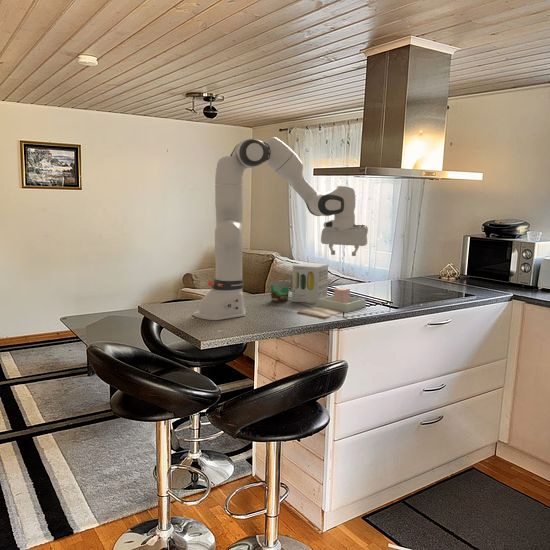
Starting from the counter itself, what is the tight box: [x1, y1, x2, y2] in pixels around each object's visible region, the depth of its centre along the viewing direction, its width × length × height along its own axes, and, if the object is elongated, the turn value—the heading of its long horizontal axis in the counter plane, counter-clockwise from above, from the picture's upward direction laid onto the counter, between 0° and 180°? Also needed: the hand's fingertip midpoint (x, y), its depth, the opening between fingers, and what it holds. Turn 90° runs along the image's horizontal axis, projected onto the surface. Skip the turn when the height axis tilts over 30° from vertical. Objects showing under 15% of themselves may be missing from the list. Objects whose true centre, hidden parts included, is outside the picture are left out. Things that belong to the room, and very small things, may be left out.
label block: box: [333, 286, 351, 304], centre depth 225 cm, size 5×5×8 cm
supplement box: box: [291, 261, 329, 305], centre depth 238 cm, size 13×13×18 cm
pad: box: [297, 305, 345, 320], centre depth 214 cm, size 14×14×1 cm
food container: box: [269, 277, 292, 303], centre depth 237 cm, size 12×6×10 cm, turn 143°
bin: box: [316, 294, 367, 313], centre depth 225 cm, size 15×15×4 cm
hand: (343, 255), depth 222 cm, fingers open, 8 cm apart
